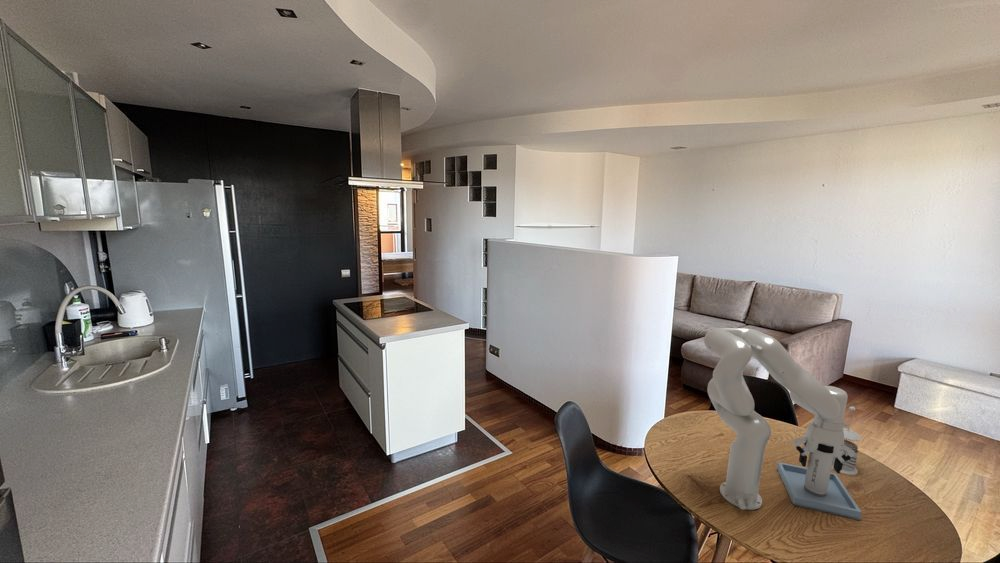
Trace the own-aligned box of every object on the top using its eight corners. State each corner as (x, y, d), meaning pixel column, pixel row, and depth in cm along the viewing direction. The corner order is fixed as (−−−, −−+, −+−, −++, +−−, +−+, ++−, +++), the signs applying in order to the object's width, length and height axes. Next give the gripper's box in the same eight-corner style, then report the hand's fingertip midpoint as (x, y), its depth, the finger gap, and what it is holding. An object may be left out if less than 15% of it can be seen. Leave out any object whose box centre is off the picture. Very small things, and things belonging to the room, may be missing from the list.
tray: (860, 520, 128) (861, 512, 128) (793, 505, 134) (794, 497, 134) (834, 480, 146) (835, 473, 146) (776, 468, 153) (777, 461, 152)
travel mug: (817, 484, 143) (826, 433, 139) (830, 497, 137) (840, 445, 133) (799, 483, 144) (807, 432, 140) (811, 496, 137) (820, 443, 133)
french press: (864, 476, 149) (877, 415, 144) (828, 472, 151) (840, 411, 146) (847, 460, 158) (859, 401, 154) (814, 456, 161) (824, 398, 156)
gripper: (854, 422, 136) (845, 467, 139) (793, 412, 142) (786, 455, 145) (864, 433, 129) (855, 480, 132) (800, 423, 135) (793, 468, 138)
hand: (819, 467), depth 138 cm, fingers open, 9 cm apart
